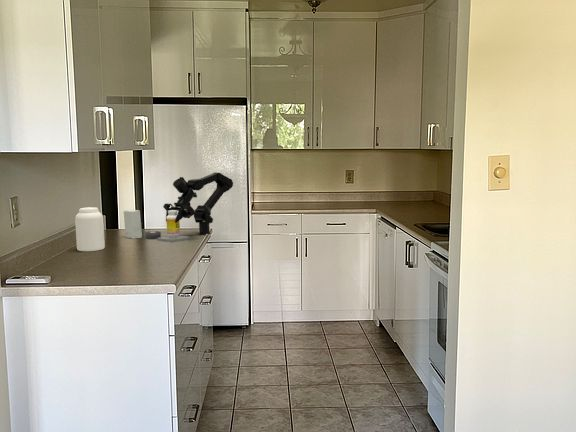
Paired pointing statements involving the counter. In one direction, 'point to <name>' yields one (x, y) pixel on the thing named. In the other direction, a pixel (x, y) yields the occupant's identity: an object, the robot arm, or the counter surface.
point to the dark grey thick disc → (152, 235)
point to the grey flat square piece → (173, 238)
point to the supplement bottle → (172, 223)
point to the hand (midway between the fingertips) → (170, 221)
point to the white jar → (89, 230)
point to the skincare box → (132, 224)
